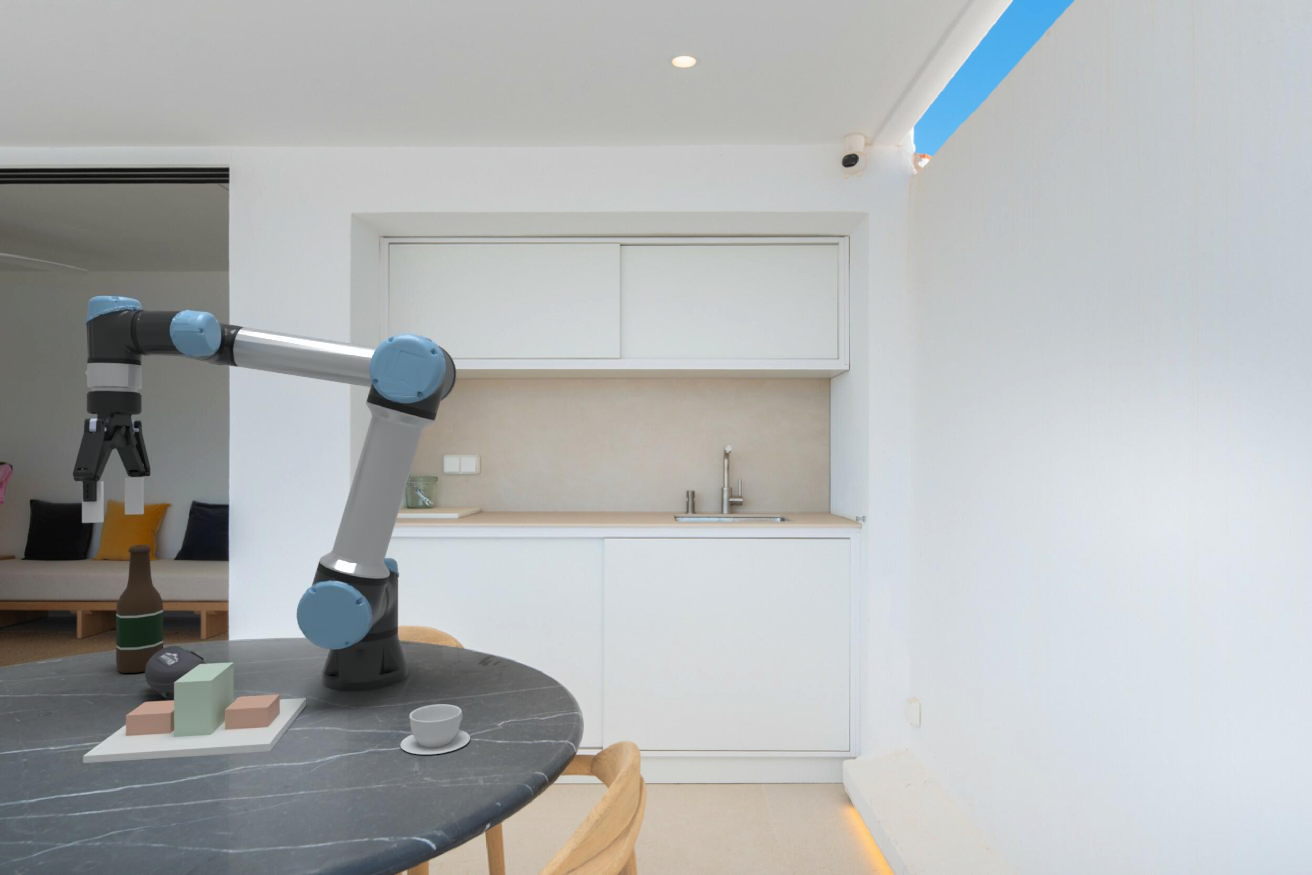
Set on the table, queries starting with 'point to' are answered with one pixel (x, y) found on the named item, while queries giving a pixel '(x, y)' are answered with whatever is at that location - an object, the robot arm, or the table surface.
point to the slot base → (243, 731)
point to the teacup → (435, 730)
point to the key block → (203, 699)
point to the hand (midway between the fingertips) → (114, 518)
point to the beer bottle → (138, 615)
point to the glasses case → (170, 668)
